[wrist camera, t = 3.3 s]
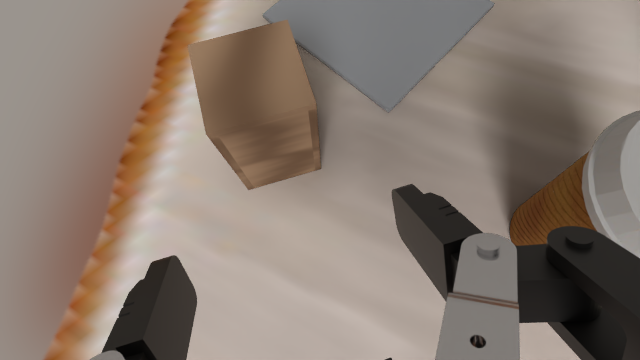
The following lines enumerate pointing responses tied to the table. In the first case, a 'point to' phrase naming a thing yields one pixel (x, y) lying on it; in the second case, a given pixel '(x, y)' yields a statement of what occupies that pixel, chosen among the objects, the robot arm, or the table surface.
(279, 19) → the grey mat
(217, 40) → the walnut block
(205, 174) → the table surface
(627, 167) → the disposable coffee cup
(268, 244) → the table surface
